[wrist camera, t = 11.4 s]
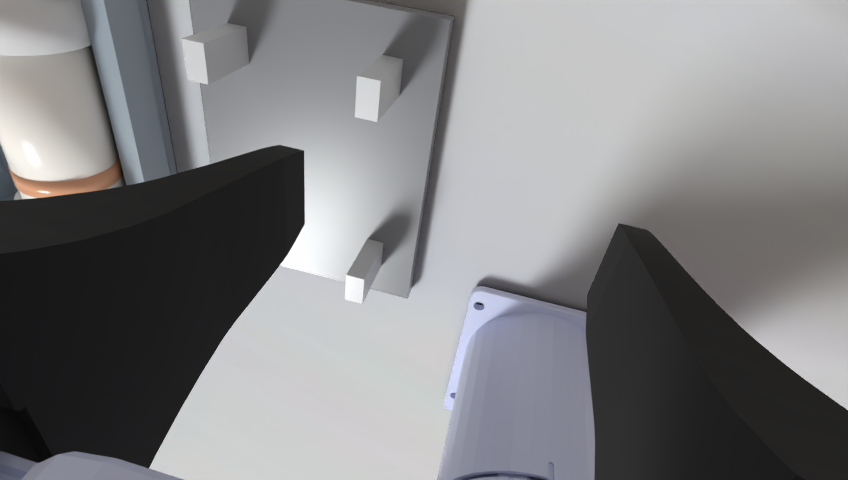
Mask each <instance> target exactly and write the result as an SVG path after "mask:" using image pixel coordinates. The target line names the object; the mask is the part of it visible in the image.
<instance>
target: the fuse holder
mask: <svg viewBox="0 0 848 480" xmlns="http://www.w3.org/2000/svg"><path fill="white" fill-rule="evenodd" d="M189 4H190V12H191V19H192V27H193V34H194V35H191V36H188V37H185V38H182V46H183V53H184V60H185V67H186V74H187V80H189V81H194V82H198V83H200V88H201V95H202V103H203V111H204V118H205V126H206V133H207V141H208V149H209V156H210V164H213V163H216V162H219V161H222V160H226V159H229V158H232V157H235V156H238V155H242V154H245V153H248V152H252V151H255V150H259V149H262V148H266V147H270V146H276V145H282V146H287V147H291V148H295V149H300V150H304V187H305V224H304V226H303V228H302V230H301V232H300V234H299V236H298V237H297V239H296V241H295V243H294V245H293V246H292V248H291V250H290V251H289V253H288V255H287V256H286V258H285V259H284V260H283V262H282V263H281V264H280V265H281V266H284V267H288V268H292V269H296V270H300V271H304V272H307V273H311V274H315V275H319V276H323V277H327V278H331V279H334V280H338V281H342V282H346V287H345V300H349V301H353V302H356V303H360V304H363V302H364V300H365V298H366V296H367V294H368V292H369V290H370V289H373V290H377V291H381V292H384V293H388V294H392V295H396V296H400V297H404V298H408V296H409V293H410V291H411V288H412V282H413V275H414V269H415V263H416V256H417V250H418V243H419V237H420V231H421V224H422V218H423V212H424V205H425V199H426V193H427V186H428V180H429V174H430V167H431V161H432V155H433V148H434V142H435V135H436V129H437V123H438V116H439V110H440V104H441V97H442V91H443V85H444V78H445V72H446V66H447V59H448V53H449V47H450V40H451V34H452V28H453V21H454V16H450V15H445V14H440V13H435V12H429V11H424V10H419V9H414V8H409V7H404V6H398V5H393V4H388V3H383V2H378V1H373V0H189Z"/></svg>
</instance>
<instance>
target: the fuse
mask: <svg viewBox="0 0 848 480" xmlns="http://www.w3.org/2000/svg"><path fill="white" fill-rule="evenodd" d="M0 144H1V147H2V149H3V152H4V154H5V157H6V159H7V162H8V164H9V165H8V168H9V171H10V174H11V176H12V179H13V181H14V184H15V186H16V188H17V189H18V191H17V192H16V194H15V197H14V200H19V199H33V198H43V197H51V196H59V195H67V194H75V193H84V192H92V191H98V190H105V189H110V188H116V187H121V186H126V182H125V178H124V174H123V170H122V165H121V161H120V157H119V153H118V150H117V147H116V142H115V138H114V134H113V130H112V126H111V122H110V118H109V114H108V110H107V106H106V102H105V98H104V94H103V90H102V86H101V82H100V78H99V74H98V70H97V66H96V62H95V58H94V54H93V50H92V46H91V41H90V37H89V33H88V28H87V24H86V20H85V16H84V12H83V8H82V4H81V0H0Z"/></svg>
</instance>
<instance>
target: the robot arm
mask: <svg viewBox="0 0 848 480" xmlns="http://www.w3.org/2000/svg"><path fill="white" fill-rule="evenodd" d="M304 224H305V187H304V150H300V149H295V148H291V147H287V146H282V145H276V146H270V147H266V148H262V149H259V150H255V151H252V152H248V153H245V154H242V155H238V156H235V157H232V158H229V159H226V160H222V161H219V162H216V163H213V164H209V165H206V166H203V167H199V168H196V169H192V170H188V171H184V172H181V173H177V174H173V175H170V176H166V177H162V178H159V179H154V180H150V181H146V182H141V183H137V184H132V185H126V186H121V187H116V188H110V189H105V190H98V191H92V192H84V193H75V194H67V195H59V196H51V197H43V198H33V199H19V200H6V201H0V480H183V479H180V478H177V477H174V476H171V475H167V474H164V473H161V472H158V471H155V470H152V469H149V467H150V465H151V463H152V461H153V459H154V457H155V455H156V453H157V451H158V449H159V447H160V446H161V444H162V442H163V440H164V438H165V436H166V435H167V433H168V431H169V429H170V427H171V425H172V424H173V422H174V420H175V418H176V416H177V414H178V412H179V411H180V409H181V407H182V405H183V404H184V402H185V400H186V399H187V397H188V395H189V393H190V392H191V390H192V388H193V387H194V385H195V383H196V381H197V380H198V378H199V376H200V375H201V373H202V371H203V370H204V368H205V366H206V365H207V363H208V362H209V360H210V358H211V357H212V355H213V354H214V352H215V350H216V349H217V347H218V346H219V344H220V342H221V341H222V339H223V338H224V336H225V335H226V333H227V332H228V331H229V329H230V328H231V326H232V325H233V324H234V322H235V321H236V320H237V318H238V317H239V316H240V315H241V313H242V312H243V311H244V310H245V308H246V307H247V306H248V305H249V303H250V302H251V301H252V300H253V298H254V297H255V296H256V295H257V293H258V292H259V291H260V290H261V288H262V287H263V286H264V285H265V283H266V282H267V281H268V280H269V278H270V277H271V276H272V274H273V273H274V272H275V271H276V269H277V268H278V267H279V265H280V264H281V263H282V262H283V260H284V259H285V258H286V256H287V255H288V253H289V251H290V250H291V248H292V246H293V245H294V243H295V241H296V239H297V237H298V236H299V234H300V232H301V230H302V228H303V226H304ZM476 302H481V303H483V305H478V304H476ZM444 407H445V408H446V409H447V410H448V411H451V412H452V414H451V418H450V423H449V427H448V432H447V437H446V441H445V446H444V450H443V455H442V460H441V464H440V469H439V473H438V478H437V480H848V410H846V409H845V408H844V407H842V406H841V405H839V404H838V403H836V402H835V401H834V400H832V399H831V398H830V397H828V396H827V395H825V394H824V393H823V392H821V391H820V390H818V389H817V388H816V387H814V386H813V385H811V384H810V383H809V382H807V381H806V380H804V379H803V378H802V377H801V376H799V375H798V374H797V373H795V372H794V371H793V370H791V369H790V368H789V367H787V366H786V365H785V364H784V363H782V362H781V361H780V360H779V359H778V358H776V357H775V356H774V355H773V354H772V353H770V352H769V351H768V350H767V349H766V348H764V347H763V346H762V345H761V344H760V343H758V342H757V341H756V340H755V339H754V338H753V337H751V336H750V335H749V334H748V333H747V332H746V331H745V330H744V329H742V328H741V327H740V326H739V325H738V324H737V323H736V322H735V321H734V320H733V319H732V318H731V317H730V316H729V315H728V314H727V313H726V312H725V311H724V310H723V309H722V308H721V307H720V306H719V305H717V304H716V302H715V301H714V300H713V299H712V298H711V297H710V296H709V295H708V294H707V293H706V292H705V291H704V290H703V289H702V288H701V287H700V286H699V285H698V284H697V283H696V282H695V280H694V279H693V278H692V277H691V276H690V275H689V274H688V273H687V272H686V271H685V270H684V268H683V267H682V266H681V265H680V264H679V263H678V262H677V261H676V259H675V258H674V257H673V256H672V255H671V254H670V253H669V252H668V251H667V249H666V248H665V247H664V246H663V245H662V244H661V243H660V242H659V241H658V240H657V239H656V238H655V237H654V236H653V235H652V234H651V233H650V232H649V231H648V230H645V229H641V228H636V227H632V226H628V225H623V224H618V226H617V228H616V231H615V233H614V235H613V238H612V240H611V242H610V244H609V247H608V249H607V251H606V254H605V256H604V258H603V260H602V263H601V265H600V267H599V270H598V272H597V274H596V276H595V279H594V281H593V283H592V286H591V288H590V290H589V292H588V297H587V312H583V311H579V310H575V309H571V308H567V307H564V306H560V305H556V304H552V303H548V302H544V301H540V300H536V299H532V298H528V297H524V296H520V295H516V294H512V293H508V292H504V291H500V290H496V289H492V288H488V287H484V286H478V287H475V288H474V289H473V290H472V293H471V297H470V301H469V305H468V309H467V313H466V317H465V321H464V325H463V329H462V333H461V337H460V341H459V344H458V348H457V352H456V356H455V360H454V364H453V368H452V372H451V376H450V380H449V384H448V388H447V392H446V396H445V400H444Z"/></svg>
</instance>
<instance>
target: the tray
mask: <svg viewBox="0 0 848 480" xmlns="http://www.w3.org/2000/svg"><path fill="white" fill-rule="evenodd" d="M81 4H82V8H83V12H84V16H85V20H86V24H87V28H88V33H89V37H90V41H91V46H92V50H93V54H94V58H95V62H96V66H97V70H98V74H99V78H100V82H101V86H102V90H103V94H104V98H105V102H106V106H107V110H108V114H109V118H110V122H111V126H112V130H113V134H114V138H115V142H116V147H117V150H118V153H119V157H120V161H121V165H122V170H123V174H124V178H125V182H126V185H132V184H137V183H141V182H146V181H150V180H154V179H159V178H162V177H166V176H170V175H173V174H177V170H176V165H175V159H174V154H173V148H172V142H171V137H170V131H169V125H168V120H167V114H166V108H165V103H164V97H163V91H162V86H161V80H160V75H159V69H158V63H157V58H156V52H155V46H154V41H153V35H152V29H151V24H150V18H149V12H148V7H147V1H146V0H81ZM8 165H9V164H8V162H7V159H6V157H5V154H4V152H3V149H2V147H1V144H0V201H6V200H14V197H15V194H16V192H17V191H18V189H17V188H16V186H15V184H14V181H13V179H12V176H11V174H10V171H9V168H8Z"/></svg>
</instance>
